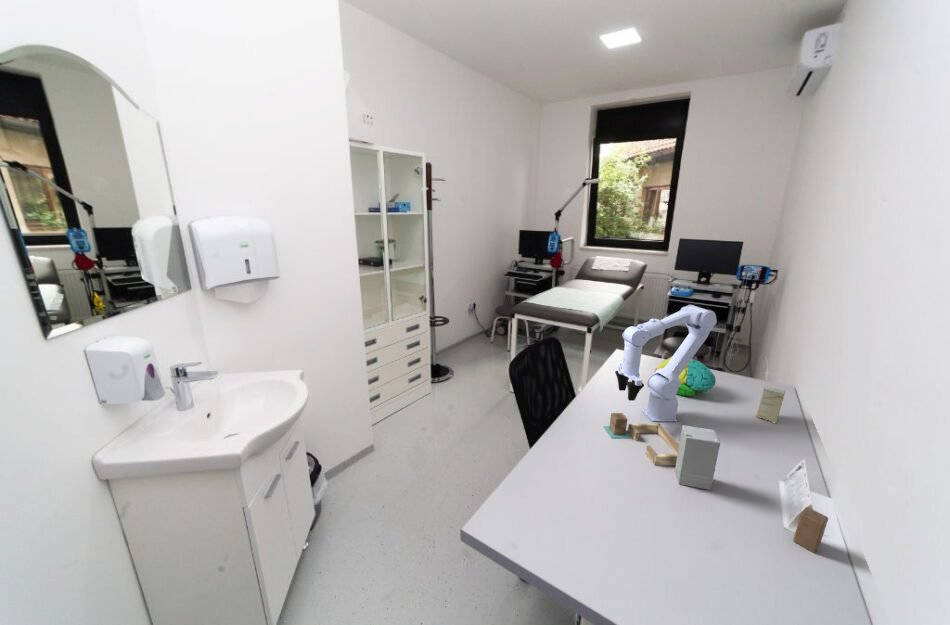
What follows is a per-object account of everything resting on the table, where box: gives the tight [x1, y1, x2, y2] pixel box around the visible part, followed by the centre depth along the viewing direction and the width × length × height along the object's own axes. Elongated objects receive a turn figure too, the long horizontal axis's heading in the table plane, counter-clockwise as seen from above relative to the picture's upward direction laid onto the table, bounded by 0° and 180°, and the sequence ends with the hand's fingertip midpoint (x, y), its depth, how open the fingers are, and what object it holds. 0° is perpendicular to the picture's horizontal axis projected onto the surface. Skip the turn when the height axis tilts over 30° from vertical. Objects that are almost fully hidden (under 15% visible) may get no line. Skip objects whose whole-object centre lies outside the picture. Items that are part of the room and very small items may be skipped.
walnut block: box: [608, 412, 628, 435], centre depth 126 cm, size 4×4×6 cm
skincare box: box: [674, 424, 721, 491], centre depth 102 cm, size 8×7×16 cm
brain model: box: [654, 356, 717, 397], centre depth 159 cm, size 24×19×15 cm
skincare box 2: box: [756, 385, 786, 424], centre depth 137 cm, size 6×4×12 cm
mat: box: [603, 425, 633, 439], centre depth 127 cm, size 7×7×1 cm
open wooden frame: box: [627, 423, 680, 466], centre depth 119 cm, size 11×18×3 cm, turn 3°
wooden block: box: [793, 506, 829, 554], centre depth 84 cm, size 4×4×8 cm
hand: (626, 395), depth 133 cm, fingers open, 7 cm apart
